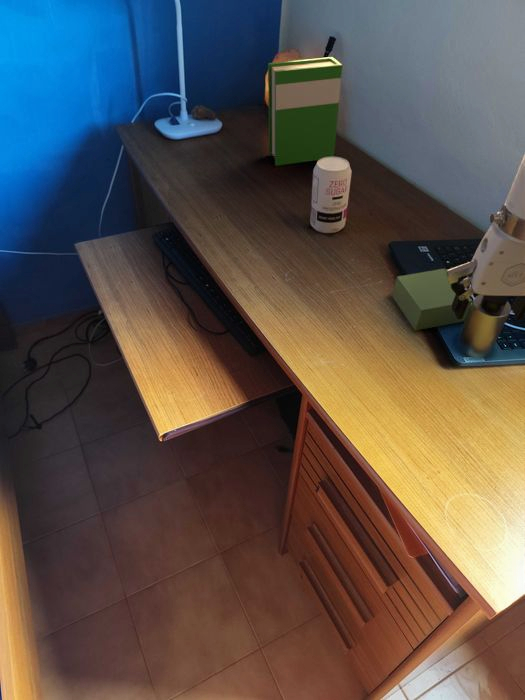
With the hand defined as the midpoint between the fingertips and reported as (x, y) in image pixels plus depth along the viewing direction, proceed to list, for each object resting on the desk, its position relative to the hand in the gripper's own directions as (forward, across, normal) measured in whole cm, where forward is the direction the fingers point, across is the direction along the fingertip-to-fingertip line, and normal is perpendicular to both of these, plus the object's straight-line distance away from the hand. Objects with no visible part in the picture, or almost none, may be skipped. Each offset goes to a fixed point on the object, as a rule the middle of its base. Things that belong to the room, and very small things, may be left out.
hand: (486, 314), depth 77 cm
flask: (+8, 0, 0) cm, 8 cm away
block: (+8, -6, +10) cm, 14 cm away
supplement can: (+8, -23, +40) cm, 47 cm away
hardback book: (+8, -28, +78) cm, 83 cm away
